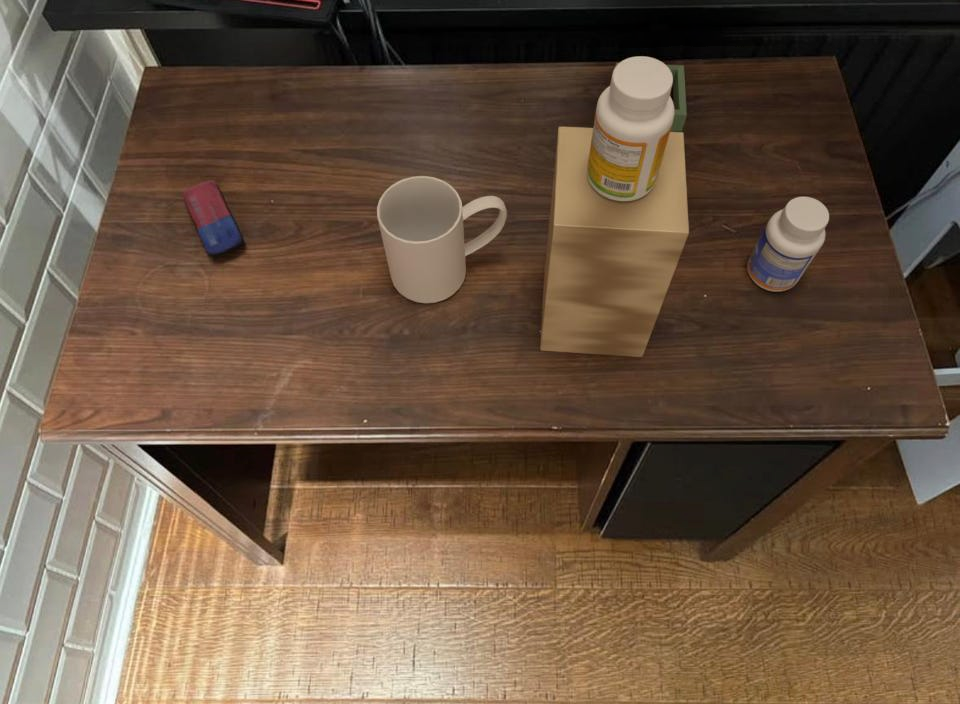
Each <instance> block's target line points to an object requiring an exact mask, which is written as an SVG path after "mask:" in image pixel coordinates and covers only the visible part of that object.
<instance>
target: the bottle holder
mask: <svg viewBox="0 0 960 704" xmlns="http://www.w3.org/2000/svg"><path fill="white" fill-rule="evenodd" d="M619 63H620V62H615V65H614V68H615V67H616V66H617V65H618V64H619ZM665 65H666V66H667V67H668V68H669V69H670V71H671V73H672V76H673V83H672V94H673V96H672V97H673V98H672V100H673V104H674V108H675V110H674V119H673V123H672V127H671V130H670V132H683V129H684V126H685V123H686V120H687V116H688V111H687V95H686V94H687V93H686V79H685V78H686V77H685V65H682V64H665Z"/></svg>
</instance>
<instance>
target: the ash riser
mask: <svg viewBox="0 0 960 704" xmlns="http://www.w3.org/2000/svg"><path fill="white" fill-rule="evenodd" d="M592 134H593V127H579V126H558V127H557V139H556V149H555V159H554V169H553V178H552V188H551V198H550V209H549V210H550V211H549V219H548V228H547V238H546V247H545V248H546V249H545V257H544V268H543V269H544V271H543V287H542V288H543V289H542V305H541V306H542V307H541V308H542V309H541V324H540V325H541V326H540V343H539V344H540V346H539V350H540V351H541V352H556V353H557V352H558V353H571V354H586V355H587V354H588V355H601V356H616V357H617V356H618V357H632V358H643V357H644V354H645V352H646V348H647V346H648V344H649V341H650V338H651V335H652V332H653V330H654V327H655V324H656V322H657V319H658V318H659V314H660V312H661V308H662V306H663V303H664V302H665V301H664V300H665V298H666V294H667V293H668V289H669V287H670V285H671V282H672V279H673V277H674V274H675V271H676V268H677V266H678V263H679V260H680V258H681V255H682V253H683V250H684V247H685V244H686V242H687V239H688V237H689V233H690V224H689V222H690V221H689V207H688V206H689V205H688V190H687V189H688V188H687V171H686V169H687V168H686V151H685V150H686V149H685V135H684V132H683V131H670V134H669V137H668V141H667V145H666V148H665V152H664V155H663V159H662V162H661V166H660V170H659V174H658V177H657V180H656V183H655V185H654V187H653V188H652V189H651V190H650V192H649V193H647V194H646V195H645V196H643V197H641V198H639V199H636V200H632V201H616V200H612V199H609V198H607V197H605V196H603V195H601V194H599V193H598V192H597V191H596V190H595V189H594V188H593V187H592V185H591V184H590V182H589V179H588V175H587V167H588V159H589V153H590V147H591V140H592Z"/></svg>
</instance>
